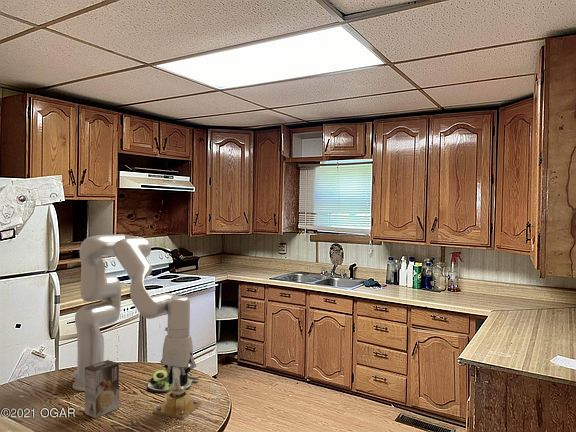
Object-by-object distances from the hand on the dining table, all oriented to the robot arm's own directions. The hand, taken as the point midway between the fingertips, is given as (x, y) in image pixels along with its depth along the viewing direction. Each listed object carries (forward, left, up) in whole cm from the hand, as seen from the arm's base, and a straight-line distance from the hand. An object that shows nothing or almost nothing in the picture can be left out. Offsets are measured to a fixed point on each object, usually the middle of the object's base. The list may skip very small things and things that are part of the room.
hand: (178, 383), depth 152 cm
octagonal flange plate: (0, 0, -9) cm, 9 cm away
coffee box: (-23, -11, -9) cm, 27 cm away
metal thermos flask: (0, 0, -4) cm, 4 cm away
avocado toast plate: (-15, +17, -9) cm, 25 cm away
